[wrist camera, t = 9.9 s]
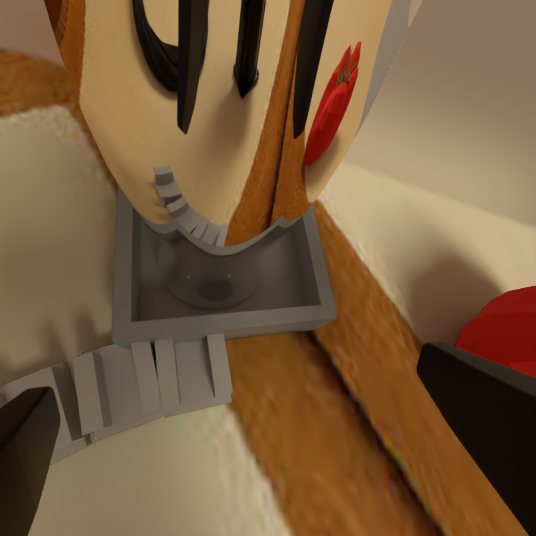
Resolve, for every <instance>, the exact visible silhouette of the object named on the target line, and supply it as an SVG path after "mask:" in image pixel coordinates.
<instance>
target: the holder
mask: <svg viewBox="0 0 536 536" xmlns="http://www.w3.org/2000/svg"><path fill="white" fill-rule="evenodd" d="M158 245H159V241H158V239H157V238H156V236H155V235H154V234H153V233H152V231H151V230H150V229H149V227H148V226H147V225H146V223H145V222H144V221H143V219H142V218H141V217H140V215H139V214H138V213H137V211H136V210H135V208H134V207H133V206H132V204H131V203H130V202H129V200H128V198H127V197H126V195H125V194H124V192H123V190H122V189H121V187H120V186H119V184H118V191H117V215H116V240H115V264H114V289H113V313H112V338H111V341H112V342H113V343H115V344H117V345H118V346H120V347H122V348H123V349H129V348H131V343H138V342H148V341H150V342H151V343H152V345H153V346H154V347H155V341H157V340H167V339H173V341H174V343H184V342H193V341H202V340H207V335H214V334H223V333H224V339H225V340H227V339H236V338H246V337H255V336H264V335H273V334H282V333H291V332H300V331H309V330H318V329H319V328H321V327H323V326H325V325H326V324H328V323H330V322H332V321H333V320H335V319H337V318H338V316H337V312H336V307H335V303H334V298H333V294H332V289H331V285H330V280H329V276H328V272H327V267H326V263H325V258H324V254H323V249H322V245H321V240H320V236H319V231H318V227H317V222H316V218H315V214H314V209H313V205H312V204H311V206H310V207H309V208H308V209H307V210H306V212H305V213H304V214H303V215H302V216H301V218H300V219H299V220H298V221H297V222H296V223H295V224H294V225H293V226H292V227H291V228H290V229H289V230H288V231H287V232H286V233H285V234H284V235H283V236H282V237H281V238H280V239H279V240H278V241H277V242H276V243H275V244H274V245H273V246H272V247H271V248H270V249H269V250H268V251H267V263H266V269H265V273H264V276H263V279H262V281H261V283H260V284H259V286H258V287H257V289H256V290H255V291H254V292H253V293H252V294H251V295H250V296H249V297H248V298H246V299H245V300H243V301H242V302H240V303H238V304H236V305H234V306H231V307H227V308H223V309H203V308H198V307H195V306H192V305H189V304H187V303H185V302H183V301H182V300H180V299H179V298H177V297H176V296H175V295H174V294H173V293H172V292H171V291H170V290H169V289H168V288H167V286H166V285H165V283H164V282H163V280H162V278H161V275H160V272H159V268H158V262H157V253H158Z"/></svg>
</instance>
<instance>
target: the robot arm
mask: <svg viewBox="0 0 536 536" xmlns="http://www.w3.org/2000/svg"><path fill="white" fill-rule="evenodd" d="M417 373H418V376H419V378H420V379H421V381H422V383H423V384H424V386H425V388H426V389H427V391H428V392H429V394H430V396H431V397H432V399H433V401H434V402H435V404H436V406H437V407H438V409H439V410H440V412H441V414H442V415H443V417H444V419H445V420H446V422H447V423H448V425H449V426H450V428H451V429H452V431H453V432H454V434H455V435H456V436H457V438H458V439H459V441H460V442H461V443H462V445H463V446H464V447H465V449H466V450H467V452H468V453H469V454H470V456H471V457H472V458H473V460H474V461H475V462H476V464H477V465H478V467H479V468H480V469H481V471H482V472H483V473H484V475H485V476H486V478H487V479H488V480H489V482H490V483H491V484H492V486H493V487H494V488H495V490H496V491H497V493H498V494H499V495H500V497H501V498H502V499H503V501H504V502H505V504H506V505H507V506H508V508H509V509H510V510H511V512H512V513H513V514H514V516H515V517H516V519H517V520H518V521H519V523H520V524H521V525H522V527H523V528H524V530H525V531H526V532H527V534H528V535H529V536H536V378H535V377H532V376H529V375H527V374H524V373H521V372H519V371H516V370H514V369H511V368H508V367H506V366H503V365H500V364H498V363H495V362H493V361H490V360H487V359H485V358H482V357H479V356H477V355H474V354H472V353H469V352H466V351H464V350H461V349H458V348H456V347H453V346H451V345H448V344H445V343H443V342H439V341H436V342H427V343H425V344H424V345H423V347H422V349H421V353H420V356H419V360H418V363H417ZM60 422H61V418H60V412H59V408H58V404H57V400H56V396H55V392H54V390H53V388H52V387H50V386H43V387H34V388H28V389H26V390H24V391H23V392H22V393H20V394H19V395H17V396H16V397H15V398H13V399H12V400H10V401H9V402H8V403H6V404H5V405H3V406H2V407H1V408H0V536H28V533H29V531H30V528H31V525H32V523H33V520H34V517H35V514H36V511H37V508H38V505H39V502H40V498H41V495H42V491H43V488H44V484H45V480H46V476H47V473H48V469H49V465H50V462H51V458H52V454H53V451H54V447H55V443H56V440H57V436H58V432H59V428H60Z"/></svg>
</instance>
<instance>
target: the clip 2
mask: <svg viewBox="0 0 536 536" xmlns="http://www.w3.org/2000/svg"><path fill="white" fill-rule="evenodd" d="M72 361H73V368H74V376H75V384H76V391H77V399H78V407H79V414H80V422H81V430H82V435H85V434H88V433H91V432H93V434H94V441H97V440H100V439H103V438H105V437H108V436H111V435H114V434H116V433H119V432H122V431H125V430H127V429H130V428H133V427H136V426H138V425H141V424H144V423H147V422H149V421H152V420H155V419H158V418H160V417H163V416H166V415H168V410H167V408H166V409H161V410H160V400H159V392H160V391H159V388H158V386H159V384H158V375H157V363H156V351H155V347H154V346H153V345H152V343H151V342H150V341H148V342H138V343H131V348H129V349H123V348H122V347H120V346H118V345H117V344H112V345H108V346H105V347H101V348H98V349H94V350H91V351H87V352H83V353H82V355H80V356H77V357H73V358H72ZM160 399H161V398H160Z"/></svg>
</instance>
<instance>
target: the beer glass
mask: <svg viewBox="0 0 536 536" xmlns="http://www.w3.org/2000/svg"><path fill="white" fill-rule="evenodd" d="M422 1H423V0H43V3H44V6H45V9H46V12H47V15H48V18H49V21H50V24H51V27H52V30H53V33H54V36H55V39H56V42H57V45H58V48H59V51H60V54H61V57H62V60H63V62H64V65H65V67H66V70H67V73H68V75H69V78H70V81H71V83H72V86H73V89H74V91H75V94H76V97H77V99H78V102H79V104H80V107H81V110H82V112H83V115H84V117H85V119H86V122H87V124H88V126H89V128H90V130H91V132H92V134H93V137H94V139H95V141H96V143H97V145H98V147H99V149H100V152H101V154H102V156H103V158H104V160H105V162H106V164H107V166H108V168H109V169H110V171H111V173H112V174H113V176H114V178H115V179H116V181H117V182H118V184H119V186H120V187H121V189H122V190H123V192H124V194H125V195H126V197H127V198H128V200H129V202H130V203H131V204H132V206H133V207H134V208H135V210H136V211H137V213H138V214H139V215H140V217H141V218H142V219H143V221H144V222H145V223H146V225H147V226H148V227H149V229H150V230H151V231H152V233H153V234H154V235H155V236H156V238H157V239H158V241H159V245H158V253H157V262H158V268H159V272H160V275H161V278H162V280H163V282H164V283H165V285H166V286H167V288H168V289H169V290H170V291H171V292H172V293H173V294H174V295H175V296H176V297H177V298H179V299H180V300H182V301H183V302H185V303H187V304H189V305H192V306H195V307H198V308H203V309H223V308H227V307H231V306H234V305H236V304H238V303H240V302H242V301H243V300H245V299H246V298H248V297H249V296H250V295H251V294H252V293H253V292H254V291H255V290H256V289H257V287H258V286H259V284H260V283H261V281H262V279H263V276H264V273H265V269H266V263H267V251H268V250H269V249H270V248H271V247H272V246H273V245H274V244H275V243H276V242H277V241H278V240H279V239H280V238H281V237H282V236H283V235H284V234H285V233H286V232H287V231H288V230H289V229H290V228H291V227H292V226H293V225H294V224H295V223H296V222H297V221H298V220H299V219H300V218H301V216H302V215H303V214H304V213H305V212H306V210H307V209H308V208H309V207H310V206H311V204H312V203H313V202H314V201H315V200H316V198H317V197H318V196H319V195H320V194H321V192H322V191H323V189H324V188H325V186H326V185H327V183H328V182H329V180H330V178H331V177H332V175H333V174H334V172H335V171H336V169H337V168H338V166H339V165H340V163H341V162H342V160H343V158H344V157H345V155H346V153H347V151H348V149H349V148H350V146H351V144H352V142H353V140H354V138H355V137H356V135H357V133H358V131H359V129H360V128H361V126H362V124H363V122H364V120H365V118H366V117H367V115H368V113H369V111H370V109H371V107H372V105H373V103H374V101H375V99H376V97H377V95H378V93H379V91H380V89H381V87H382V84H383V82H384V81H385V78H386V77H387V74H388V72H389V70H390V68H391V66H392V64H393V62H394V60H395V58H396V56H397V54H398V52H399V49H400V47H401V45H402V43H403V41H404V39H405V37H406V35H407V32H408V30H409V28H410V26H411V24H412V22H413V20H414V17H415V15H416V13H417V11H418V9H419V7H420V5H421V3H422Z"/></svg>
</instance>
